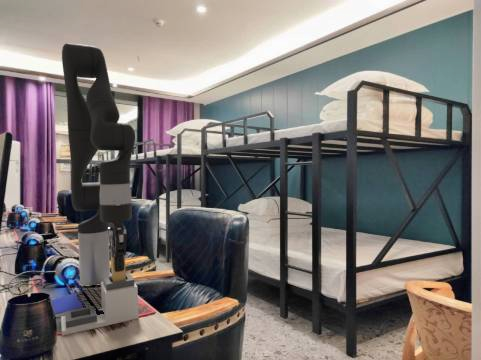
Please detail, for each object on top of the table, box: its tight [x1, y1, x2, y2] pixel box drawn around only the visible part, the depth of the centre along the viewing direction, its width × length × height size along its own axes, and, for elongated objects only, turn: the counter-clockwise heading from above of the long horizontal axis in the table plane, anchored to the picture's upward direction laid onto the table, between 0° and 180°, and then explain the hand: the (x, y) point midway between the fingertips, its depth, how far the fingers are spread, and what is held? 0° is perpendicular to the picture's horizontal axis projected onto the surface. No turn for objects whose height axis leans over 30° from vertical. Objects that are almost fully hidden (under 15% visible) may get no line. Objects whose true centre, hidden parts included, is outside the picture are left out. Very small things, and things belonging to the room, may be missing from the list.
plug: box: [109, 247, 127, 282], centre depth 87 cm, size 3×3×8 cm
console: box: [60, 272, 140, 336], centre depth 85 cm, size 9×17×10 cm, turn 118°
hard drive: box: [50, 293, 83, 318], centre depth 94 cm, size 2×8×12 cm
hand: (118, 268), depth 87 cm, fingers closed on plug, 3 cm apart
